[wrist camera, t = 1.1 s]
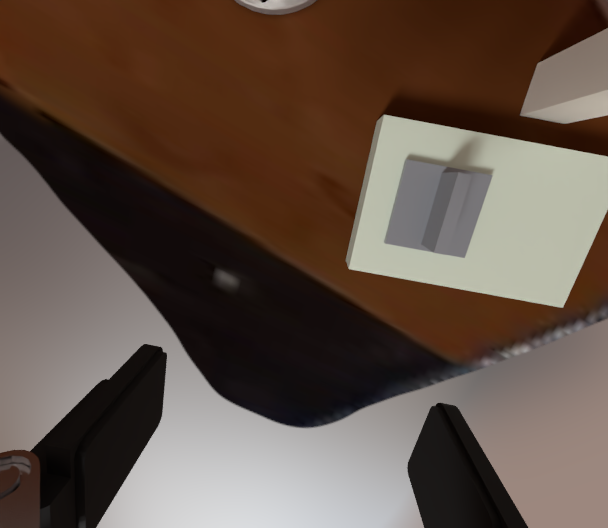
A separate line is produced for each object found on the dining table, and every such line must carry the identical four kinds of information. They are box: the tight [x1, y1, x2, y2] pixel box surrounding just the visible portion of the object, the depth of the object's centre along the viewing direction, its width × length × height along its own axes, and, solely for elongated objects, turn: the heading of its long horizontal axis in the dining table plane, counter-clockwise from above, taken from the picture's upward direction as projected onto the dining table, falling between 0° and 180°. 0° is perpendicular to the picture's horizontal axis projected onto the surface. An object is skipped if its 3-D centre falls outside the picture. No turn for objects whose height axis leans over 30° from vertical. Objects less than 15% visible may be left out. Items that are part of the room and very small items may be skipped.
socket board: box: [346, 115, 608, 308], centre depth 28 cm, size 13×20×3 cm, turn 80°
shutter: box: [384, 159, 493, 258], centre depth 25 cm, size 7×7×4 cm
